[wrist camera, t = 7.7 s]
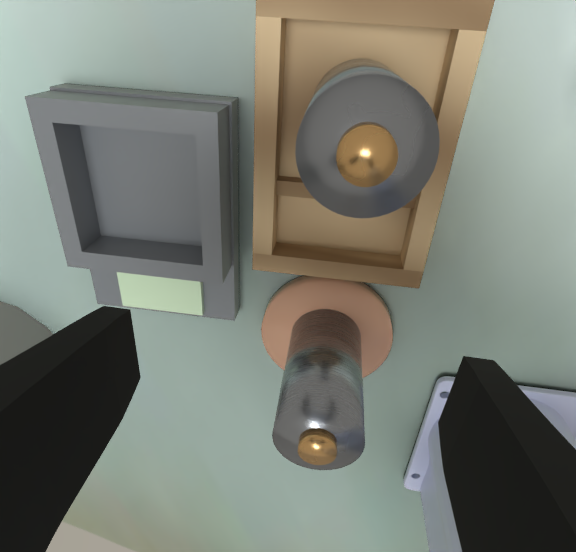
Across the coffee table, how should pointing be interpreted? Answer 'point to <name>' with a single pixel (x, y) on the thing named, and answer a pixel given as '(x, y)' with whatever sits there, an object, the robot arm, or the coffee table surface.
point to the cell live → (366, 141)
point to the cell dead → (322, 393)
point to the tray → (295, 100)
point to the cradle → (145, 193)
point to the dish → (335, 296)
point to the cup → (18, 331)
